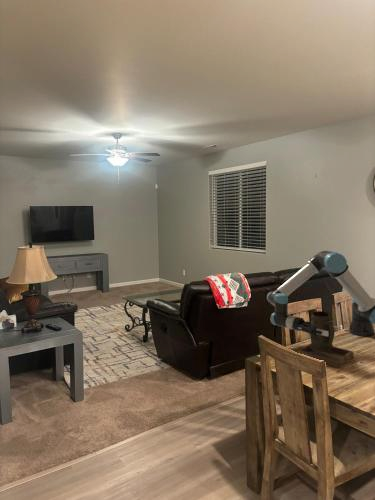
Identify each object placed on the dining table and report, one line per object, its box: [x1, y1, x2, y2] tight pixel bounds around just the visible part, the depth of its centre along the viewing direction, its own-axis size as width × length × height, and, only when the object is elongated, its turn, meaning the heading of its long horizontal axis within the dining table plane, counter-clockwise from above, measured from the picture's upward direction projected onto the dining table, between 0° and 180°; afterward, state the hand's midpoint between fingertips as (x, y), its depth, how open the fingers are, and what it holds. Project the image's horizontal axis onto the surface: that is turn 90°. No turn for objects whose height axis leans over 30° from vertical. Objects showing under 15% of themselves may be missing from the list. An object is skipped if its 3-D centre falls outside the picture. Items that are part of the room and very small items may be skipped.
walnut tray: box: [297, 343, 354, 369], centre depth 201 cm, size 18×22×4 cm
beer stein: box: [310, 310, 335, 352], centre depth 199 cm, size 15×11×20 cm
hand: (332, 331), depth 196 cm, fingers closed on beer stein, 9 cm apart
